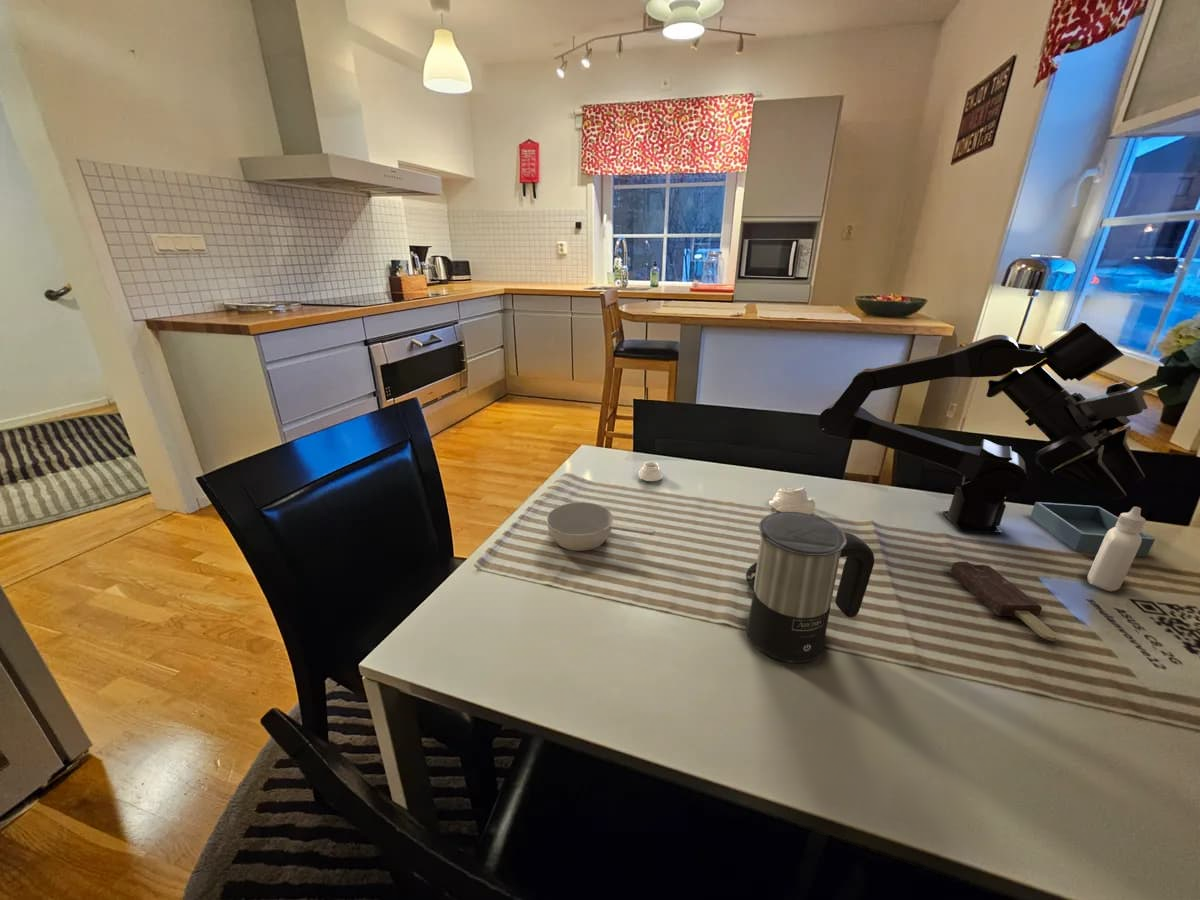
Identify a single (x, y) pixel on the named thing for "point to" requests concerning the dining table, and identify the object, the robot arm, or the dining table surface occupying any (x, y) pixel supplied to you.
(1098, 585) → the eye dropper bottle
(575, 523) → the small pan
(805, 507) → the whipped cream
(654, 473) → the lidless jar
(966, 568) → the ice cream bar
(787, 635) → the milk frother
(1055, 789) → the dining table surface
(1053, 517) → the blue-grey tray
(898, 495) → the dining table surface
